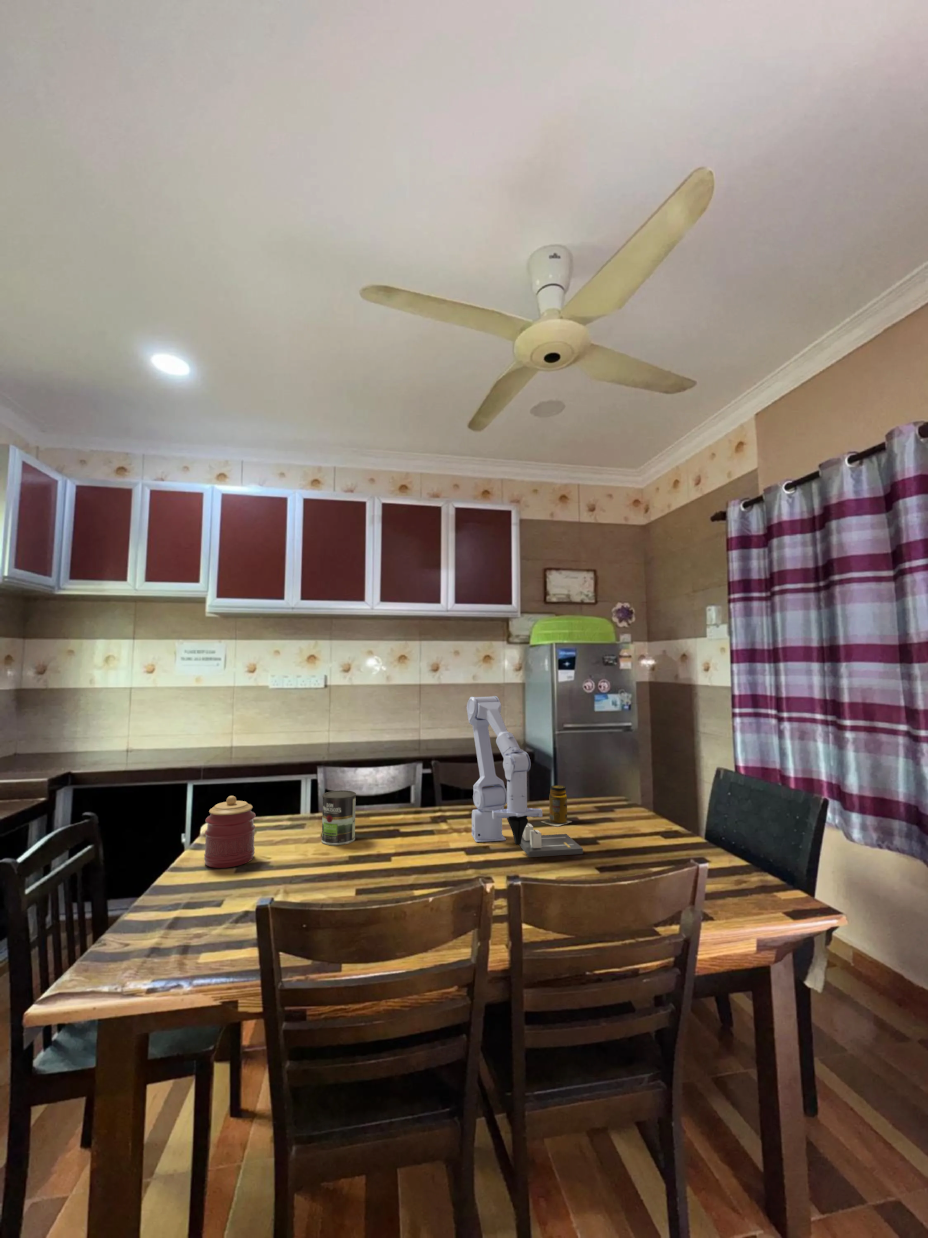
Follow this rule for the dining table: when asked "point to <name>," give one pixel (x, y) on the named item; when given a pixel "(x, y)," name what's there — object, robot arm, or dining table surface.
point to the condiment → (557, 806)
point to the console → (552, 846)
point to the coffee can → (338, 817)
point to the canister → (229, 834)
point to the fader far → (527, 832)
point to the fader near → (535, 839)
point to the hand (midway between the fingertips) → (517, 843)
